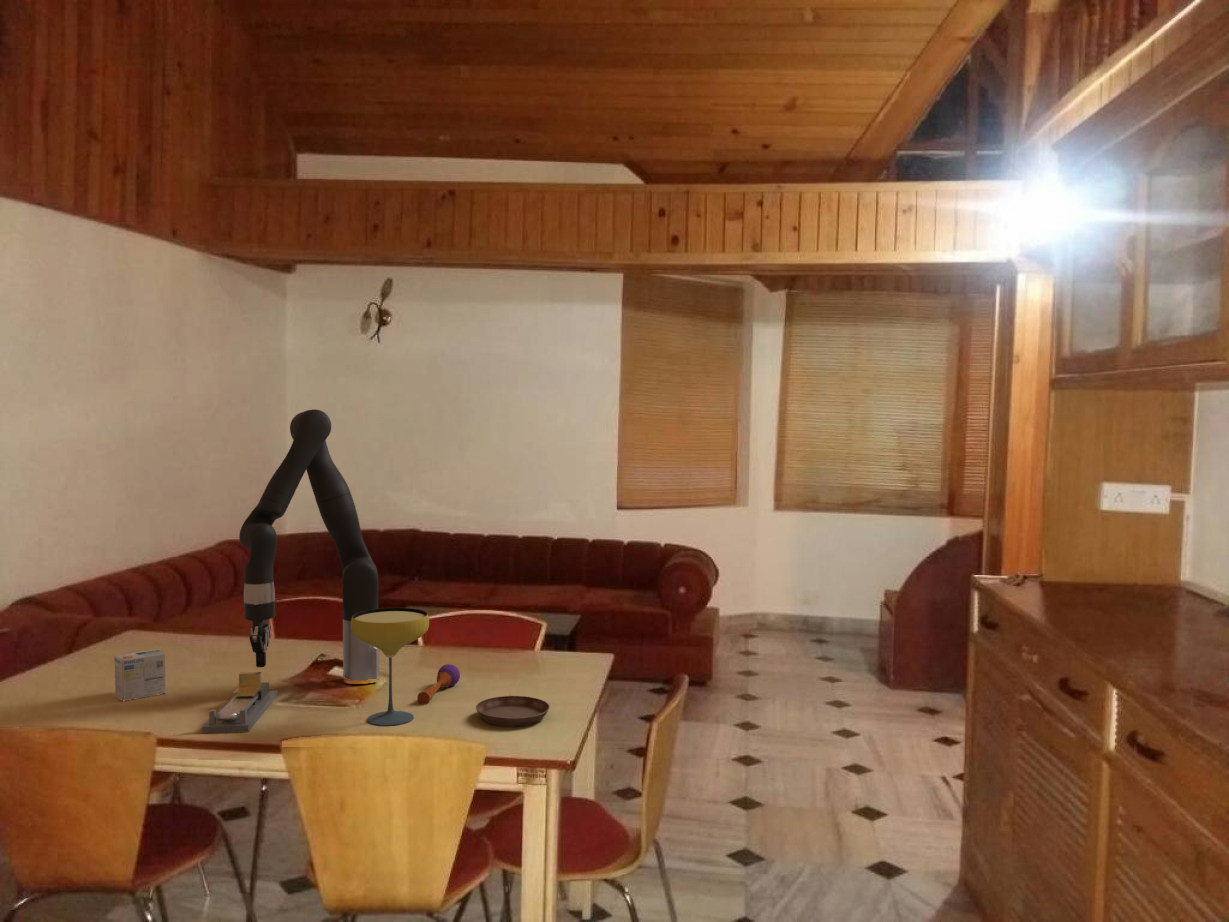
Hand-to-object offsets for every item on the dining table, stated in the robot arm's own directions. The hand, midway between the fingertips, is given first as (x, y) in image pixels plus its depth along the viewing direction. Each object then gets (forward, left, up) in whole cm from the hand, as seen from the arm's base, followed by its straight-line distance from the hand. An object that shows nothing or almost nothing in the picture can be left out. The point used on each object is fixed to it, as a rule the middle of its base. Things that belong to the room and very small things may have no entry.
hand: (261, 666), depth 250 cm
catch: (+1, +11, -3) cm, 11 cm away
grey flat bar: (+1, +20, -5) cm, 20 cm away
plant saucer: (-64, +24, -8) cm, 69 cm away
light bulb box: (+31, -2, -8) cm, 32 cm away
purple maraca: (-45, +2, -8) cm, 46 cm away
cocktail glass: (-35, +23, -8) cm, 43 cm away
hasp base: (+1, +16, -7) cm, 17 cm away
